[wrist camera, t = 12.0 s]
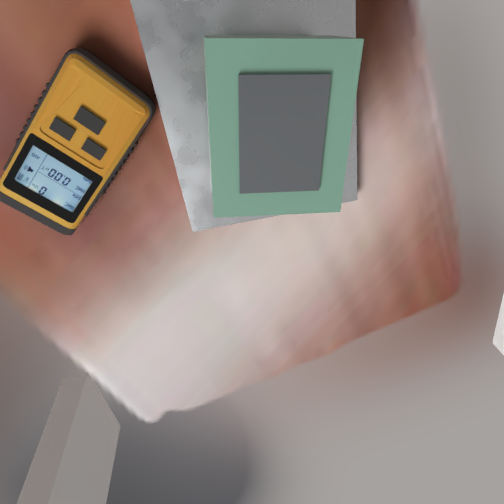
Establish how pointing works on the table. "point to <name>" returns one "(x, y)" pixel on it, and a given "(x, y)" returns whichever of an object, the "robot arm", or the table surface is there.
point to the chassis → (194, 82)
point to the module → (279, 121)
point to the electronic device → (74, 142)
